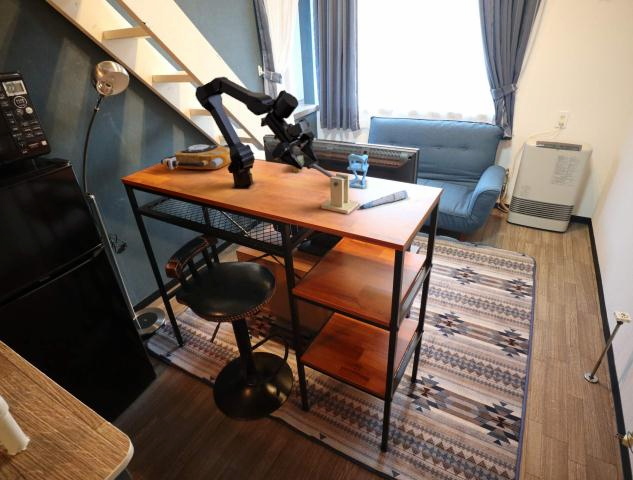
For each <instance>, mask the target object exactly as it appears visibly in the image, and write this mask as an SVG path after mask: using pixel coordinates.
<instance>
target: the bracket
mask: <svg viewBox="0 0 633 480" xmlns="http://www.w3.org/2000/svg"><path fill="white" fill-rule="evenodd" d="M339 175H340V176H341V177H343V178H345V179H346V181H345V183H344V179H343V178H337V176H339ZM335 176H336V177H330V178H329V185H330V186H329V187H330V188H329V190H330V197H329V198H328V199H327V200H326V201H325V202H323V203H322V204H321V205H320V208H321V209H322V210H323V209H324V210H328V211H332V212H336V213H342V214H346V215H349V214H350V213H351V212H352V211H353V210H355V209H356V208H357V207H358V206H359V201H356V200H352V199H350V187H349V181H350V174H347V173H341V172H336V174H335Z"/></svg>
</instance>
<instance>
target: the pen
mask: <svg viewBox="0 0 633 480" xmlns="http://www.w3.org/2000/svg"><path fill="white" fill-rule="evenodd" d="M408 197H409V195H408V190H406V189H405V190H400V191H397V192H393V193H390V194H388V195H385V196H381V197H380V198H377V199H374V200H370V201H368V202H365V203H364V204H362V205H360V206H359V207H358V208H359V209H366V208H371V207H375V206H379V205H382V204H385V203H393V202H397V201H400V200H403V199H406V198H408Z"/></svg>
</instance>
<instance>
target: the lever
mask: <svg viewBox="0 0 633 480" xmlns="http://www.w3.org/2000/svg"><path fill="white" fill-rule="evenodd" d="M312 168H313V169H314V170H315V171H317V172H320V173H321V174H322V175H324V176H326V177H327V178H329V179H330V177H336V175H334V174H333V173H331V172H329V171H327V170H326V169H324V168H323V167H320V166H319V161H318V160H317V161H316V162H315V161H313V162H312V163H310V164H308V165H307V166H306V170H310V169H312ZM337 178H343V177H341V176H340V175H339V176H337ZM343 179H344V183H345V181H346V179H345V178H343Z"/></svg>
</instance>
